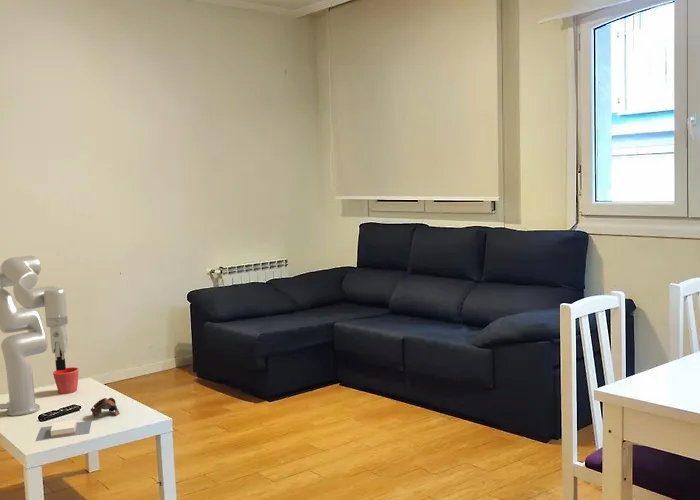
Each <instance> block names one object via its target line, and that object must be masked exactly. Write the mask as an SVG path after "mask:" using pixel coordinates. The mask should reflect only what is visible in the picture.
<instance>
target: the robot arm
mask: <svg viewBox="0 0 700 500" xmlns="http://www.w3.org/2000/svg"><path fill="white" fill-rule="evenodd" d="M41 271H42V263H41V261H40V260H39V259H38V258H37V257H36V256H34V255H23V256H15V257H9V258H7V259H5V260H4V261H3V262H2V263H1V265H0V331H1V332H2V333H4V334H12V335H8V336H7V337H5V338H3V340H2V341H1V344H0V349H1V352H2V356H3V359H4V363H5V364H4V365H5V369H6V370H5V371H6V380H7V388H8V389H7V390H8V398H9V399H8V400H9V401H8V402H6V403H0V410H1V411H2V410H5V409H6V411H5V412H6V415H8V416H13V417H14V416H25V415H29V414H33V413H35V412H37V411H39V410H40V409H41V405H40V404H37V403H36V396H35V395H36V394H35V386H34V385H35V384H34V375H33V367H32V365H31V363H30V362H29V361H28V360H27V359H26V357H30V356H34V355H38V354H43V353H45V352H46V351H47V349H48V337H47V335H46V330H45V327H44V325H43V321H42V318H41V315H40V313H39V311H38V310H37V309H40V308H44V313H45V314H44V315H45V323H46V324H45V325H46V328H49V335H50V347H51V352H52V354H54V355H55V361H54V362H55V371H56V370H57V371H60V370H65V369H66V368H67V366H66V358H65V353H66V352H68V349H69V342H68V332H67V326H68V325H69V320H68V319H69V318H68V308H67V296H66V290H65V289H64V288H61V287H57V286H56V285H48V286H41V287H39V286H38V287H36V286H37V283H38V281H39V280H38V279H39V277H38V275H40V273H41ZM6 287H7V288H8V287H13V290H12V291H13V295H12V294H11V293H10V292H9V291H8V290H6V289H5V288H6ZM16 301H17V303H18V304H19V305H20V306H21V307H18V305H17V303H16ZM24 331H27V332H24ZM18 332H22V333H18ZM13 333H16V334H13Z"/></svg>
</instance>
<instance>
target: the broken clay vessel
mask: <svg viewBox="0 0 700 500" xmlns="http://www.w3.org/2000/svg"><path fill="white" fill-rule="evenodd" d="M116 402H117V401H116V399H114V397H109V398H106V397H104V398H101V399H100V400H98V401H97V402H96V403H94V405H93V407H91V408H90V411H91V415H92V417H96V416H98V415H102V411H103V410H108V411H109V412H114V415H115V416H116V417H117V416H119V415H120V412H119V409H118V407H117V405H116Z"/></svg>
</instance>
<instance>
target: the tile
mask: <svg viewBox="0 0 700 500" xmlns="http://www.w3.org/2000/svg"><path fill="white" fill-rule="evenodd" d="M77 423H78V422H77V419H73V420H71V419H70V420H64V421H63V420H62V421H57V422H53V423H52V425H51V426H52V428H51V437H58V436H65V435H72V434H75V431H76V428H77Z"/></svg>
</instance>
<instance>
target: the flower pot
mask: <svg viewBox="0 0 700 500" xmlns="http://www.w3.org/2000/svg"><path fill="white" fill-rule="evenodd" d="M52 375H53V378H54V382H55V385H56V389H57V392H58V394H60V395H69V394H71V393H75V392H78V391H77V390H78V385H79V383H78V382H79V368H78V367H74V366H73V367H66V369H65V370H60V371H57V370H56V369H55V370H54V371H53V372H52Z"/></svg>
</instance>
